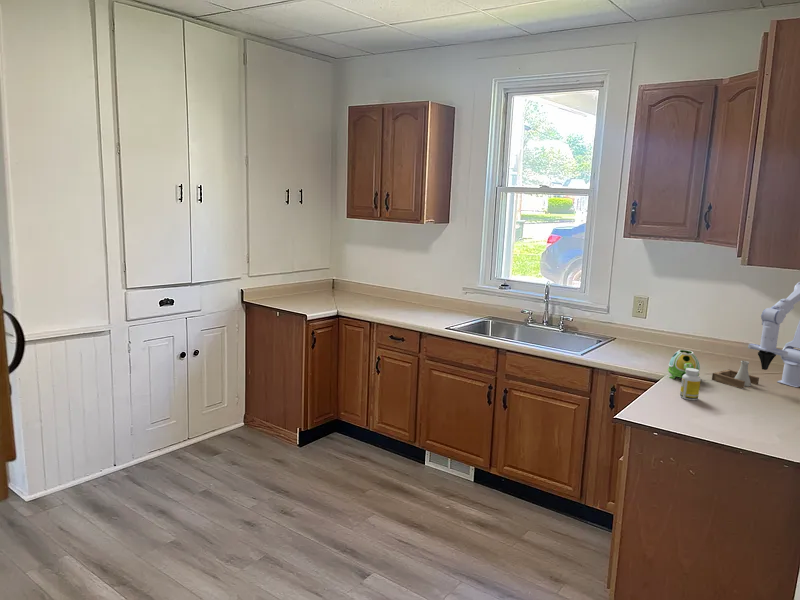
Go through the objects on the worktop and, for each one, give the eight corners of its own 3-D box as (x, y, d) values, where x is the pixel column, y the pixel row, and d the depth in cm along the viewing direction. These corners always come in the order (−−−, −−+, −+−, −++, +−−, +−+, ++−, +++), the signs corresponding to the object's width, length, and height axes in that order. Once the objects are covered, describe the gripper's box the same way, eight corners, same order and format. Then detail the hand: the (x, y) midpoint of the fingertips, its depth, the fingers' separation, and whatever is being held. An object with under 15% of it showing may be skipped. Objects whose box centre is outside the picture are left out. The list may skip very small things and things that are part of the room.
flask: (733, 380, 258) (737, 358, 256) (752, 384, 253) (756, 361, 252) (730, 384, 252) (733, 361, 250) (749, 388, 248) (753, 365, 246)
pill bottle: (701, 400, 229) (705, 372, 227) (686, 401, 228) (690, 372, 226) (690, 395, 236) (694, 367, 234) (676, 395, 235) (679, 367, 232)
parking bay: (728, 375, 264) (729, 369, 264) (758, 384, 253) (759, 377, 253) (711, 379, 257) (712, 373, 257) (742, 388, 246) (743, 381, 246)
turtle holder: (670, 383, 249) (674, 356, 247) (665, 371, 266) (668, 346, 264) (703, 387, 246) (706, 360, 244) (695, 375, 263) (699, 349, 261)
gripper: (746, 334, 246) (741, 365, 248) (783, 342, 234) (778, 375, 236) (755, 332, 250) (750, 363, 252) (792, 340, 238) (787, 373, 240)
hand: (764, 369), depth 245 cm, fingers closed
